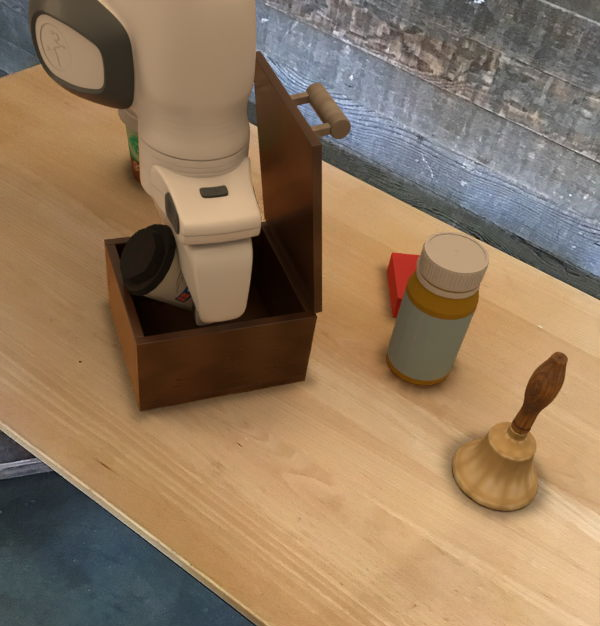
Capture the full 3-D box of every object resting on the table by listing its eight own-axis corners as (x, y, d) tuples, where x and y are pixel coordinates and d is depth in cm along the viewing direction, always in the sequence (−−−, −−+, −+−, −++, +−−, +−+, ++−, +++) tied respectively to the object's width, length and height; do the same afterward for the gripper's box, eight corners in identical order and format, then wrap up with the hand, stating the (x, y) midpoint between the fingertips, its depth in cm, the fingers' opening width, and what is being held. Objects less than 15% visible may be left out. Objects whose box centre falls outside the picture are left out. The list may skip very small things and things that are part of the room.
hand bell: (462, 428, 75) (517, 309, 63) (543, 459, 74) (615, 343, 62) (442, 491, 70) (498, 374, 58) (529, 525, 69) (604, 412, 57)
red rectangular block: (451, 322, 86) (467, 279, 81) (392, 317, 85) (405, 273, 80) (442, 276, 91) (457, 233, 86) (386, 271, 90) (398, 227, 85)
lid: (312, 146, 56) (374, 131, 57) (251, 52, 65) (306, 41, 66) (314, 314, 70) (364, 300, 71) (264, 218, 78) (309, 206, 79)
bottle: (459, 359, 82) (505, 248, 71) (433, 399, 77) (477, 287, 66) (402, 332, 84) (437, 219, 72) (373, 368, 79) (406, 254, 68)
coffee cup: (183, 317, 77) (102, 278, 70) (214, 255, 76) (135, 209, 69) (221, 338, 72) (138, 299, 65) (254, 272, 72) (174, 225, 64)
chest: (139, 411, 72) (136, 345, 65) (109, 307, 80) (103, 239, 74) (305, 380, 77) (317, 316, 70) (259, 286, 86) (267, 220, 79)
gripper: (128, 102, 67) (135, 229, 78) (188, 242, 55) (186, 371, 66) (197, 97, 69) (195, 222, 80) (269, 232, 57) (255, 359, 68)
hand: (191, 291), depth 73 cm, fingers closed on coffee cup, 7 cm apart
